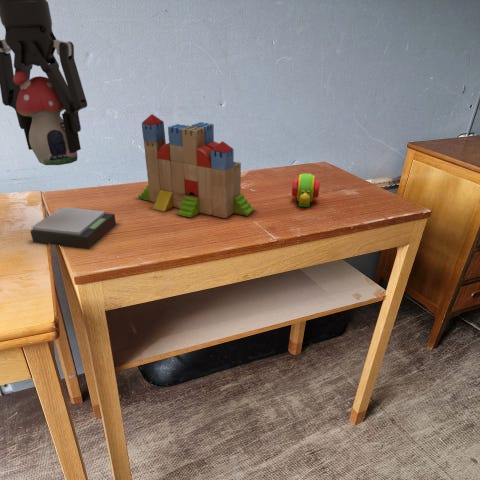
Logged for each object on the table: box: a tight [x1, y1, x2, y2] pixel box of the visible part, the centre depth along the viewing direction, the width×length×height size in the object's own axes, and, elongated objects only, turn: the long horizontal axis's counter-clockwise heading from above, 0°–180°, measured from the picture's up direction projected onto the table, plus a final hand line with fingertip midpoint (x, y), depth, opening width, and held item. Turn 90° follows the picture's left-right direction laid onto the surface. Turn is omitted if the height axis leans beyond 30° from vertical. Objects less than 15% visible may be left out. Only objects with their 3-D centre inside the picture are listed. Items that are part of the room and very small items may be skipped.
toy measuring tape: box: [291, 173, 321, 208], centre depth 109 cm, size 6×19×7 cm, turn 171°
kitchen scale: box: [30, 206, 117, 249], centre depth 90 cm, size 12×12×3 cm
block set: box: [138, 113, 255, 219], centre depth 99 cm, size 28×14×19 cm, turn 61°
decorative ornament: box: [13, 71, 79, 166], centre depth 79 cm, size 9×6×15 cm
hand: (54, 149), depth 82 cm, fingers closed on decorative ornament, 7 cm apart
